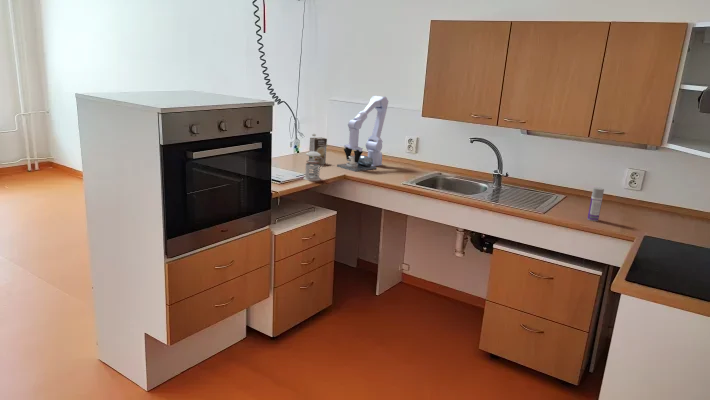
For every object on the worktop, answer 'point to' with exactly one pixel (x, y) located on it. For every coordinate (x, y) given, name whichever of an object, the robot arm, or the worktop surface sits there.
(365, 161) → the motor mount
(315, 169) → the french press
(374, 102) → the robot arm
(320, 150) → the coffee box
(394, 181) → the worktop surface
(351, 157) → the white mushroom knob
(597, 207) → the container
